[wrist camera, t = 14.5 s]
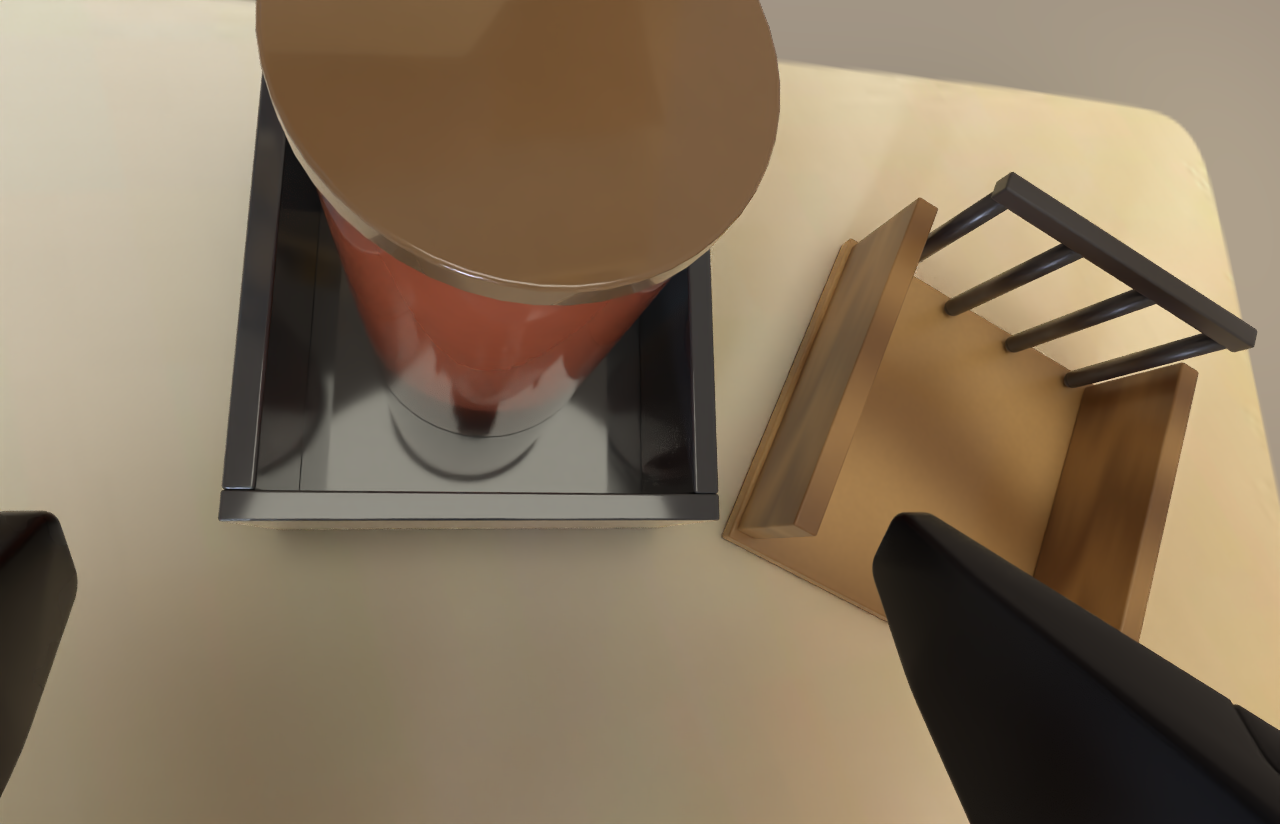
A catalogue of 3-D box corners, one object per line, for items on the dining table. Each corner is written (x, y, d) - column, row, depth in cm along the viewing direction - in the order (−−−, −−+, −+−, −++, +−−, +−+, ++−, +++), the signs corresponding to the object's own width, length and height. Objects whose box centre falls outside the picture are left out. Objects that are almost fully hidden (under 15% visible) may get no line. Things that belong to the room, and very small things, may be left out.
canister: (598, 445, 21) (795, 310, 9) (355, 439, 19) (227, 265, 7) (597, 232, 22) (770, -120, 10) (368, 209, 20) (276, -242, 9)
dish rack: (1011, 685, 23) (1221, 734, 17) (720, 537, 22) (834, 529, 15) (1090, 394, 26) (1292, 344, 20) (841, 244, 25) (977, 139, 19)
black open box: (655, 528, 21) (720, 520, 16) (275, 529, 18) (216, 521, 14) (650, 177, 23) (705, 78, 18) (307, 133, 21) (267, 4, 16)
